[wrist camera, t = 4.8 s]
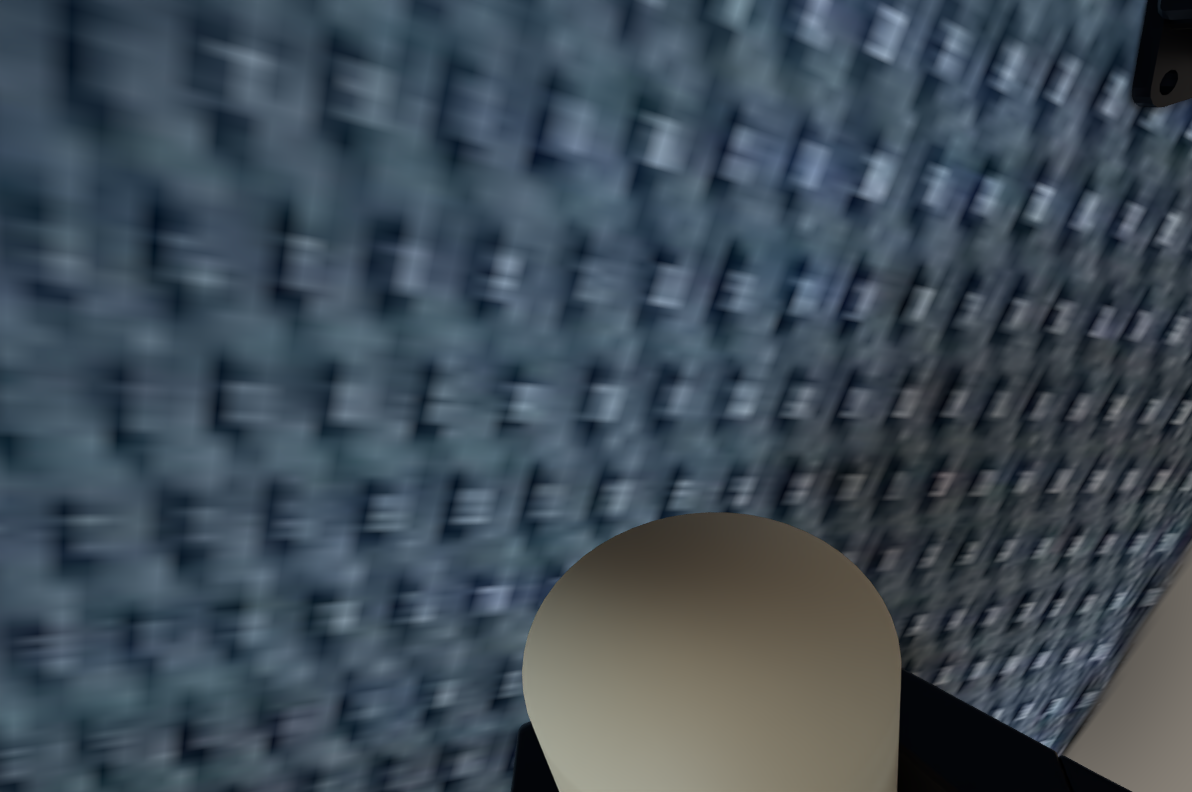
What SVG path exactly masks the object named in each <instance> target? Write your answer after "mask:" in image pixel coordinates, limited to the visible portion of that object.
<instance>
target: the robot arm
mask: <svg viewBox="0 0 1192 792" xmlns="http://www.w3.org/2000/svg"><path fill="white" fill-rule="evenodd" d="M1132 97H1133V100H1134V103H1135V104H1137V105H1138V106H1144V107H1165V106H1168V105H1171V104H1174V103H1177V102H1180V101H1183V100H1187V99H1190V98H1192V0H1148V4H1147V10H1146V15H1145V21H1144V26H1143V32H1142V38H1141V43H1140V49H1139V54H1138V60H1137V65H1136V71H1135V77H1134V82H1133V89H1132ZM511 792H559V789H558V787H557V785H556V782H555V780H554V777H553V775H552V772H551V770H550V767H549V765H548V763H547V760H546V758H545V755H544V753H543V750H542V748H541V745H540V743H539V741H538V738H537V736H536V733H535V731H534V728H533V725H532V723H531V721H530V722H528V723H526V724H523V725H522V726H521V727H520V729H519V732H518V736H517V745H516V753H515V762H514V770H513V778H512V787H511ZM897 792H1132V791H1130V790H1128V789H1126V788H1124V787H1122V786H1120V785H1118V784H1116V783H1114V782H1112V781H1110V780H1108V779H1107V778H1104V777H1103V776H1101V775H1099V774H1097V773H1095V772H1093V771H1091V770H1089V769H1088V768H1086V767H1084V766H1082V765H1080V764H1078V763H1077V762H1075V761H1073V760H1071V759H1069V758H1067V757H1066V756H1063V755H1061V756H1059V757H1058V755H1057V753H1056V752H1055V751H1054V750H1052V749H1050V748H1049V747H1047V746H1045V745H1043V744H1041V743H1039V742H1037V741H1036V740H1034V739H1032V738H1030V737H1028V736H1026V735H1025V734H1023V733H1021V732H1019V731H1017V730H1015V729H1013V728H1012V727H1010V726H1008V725H1006V724H1004V723H1002V722H1000V721H999V720H997V719H995V718H993V717H991V716H989V715H988V714H986V713H984V712H982V711H980V710H978V709H976V708H975V707H973V706H971V705H969V704H967V703H965V702H964V701H962V700H960V699H958V698H956V697H954V696H952V695H951V694H949V693H947V692H945V691H943V690H941V689H940V688H938V687H936V686H934V685H932V684H930V683H928V682H927V681H925V680H923V679H921V678H919V677H917V676H916V675H914V674H912V673H910V672H908V671H906V670H904V669H903V668H901V691H900V719H899V748H898V777H897Z"/></svg>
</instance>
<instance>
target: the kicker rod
mask: <svg viewBox="0 0 1192 792" xmlns="http://www.w3.org/2000/svg"><path fill="white" fill-rule="evenodd" d="M522 678H523V693H524V698H525V703H526V707H527V712H528V715H529V717H530V720H531V723H532V725H533V728H534V731H535V733H536V736H537V738H538V741H539V743H540V745H541V748H542V750H543V753H544V755H545V758H546V760H547V763H548V765H549V767H550V770H551V772H552V775H553V777H554V780H555V782H556V785H557V787H558V789H559V792H897V777H898V748H899V719H900V691H901V654H900V648H899V641H898V636H897V633H896V630H895V627H894V624H893V620H892V617H891V615H890V613H889V611H888V609H887V607H886V605H885V603H884V601H883V599H882V598H881V596H880V595H879V593H878V592H877V590H876V589H875V587H874V586H873V585H872V583H871V582H870V580H869V579H868V578H867V577H866V576H865V575H864V574H863V573H862V572H861V571H860V569H859V568H858V567H857V566H856V565H855V564H853V563H852V562H851V561H850V560H849V559H848V558H846V557H845V556H844V555H843V554H842V553H841V552H839V551H838V550H836V549H835V548H833V547H832V546H830V545H829V544H827V543H826V542H824V541H823V540H821V539H819V538H817V537H815V536H813V535H811V534H809V533H807V532H805V531H803V530H800V529H798V528H795V527H793V526H790V525H788V524H785V523H781V522H778V521H774V520H771V519H768V518H762V517H757V516H752V515H746V514H736V513H710V512H708V513H695V514H685V515H679V516H673V517H668V518H664V519H660V520H656V521H652V522H649V523H646V524H643V525H640V526H638V527H635V528H632V529H630V530H628V531H626V532H623V533H621V534H619V535H617V536H615V537H613V538H611V539H609V540H608V541H606V542H604V543H602V544H601V545H599V546H598V547H596V548H595V549H593V550H592V551H591V552H589V553H588V554H586V555H585V556H584V557H582V558H581V559H580V560H579V561H578V562H577V563H575V564H574V565H573V566H572V567H571V568H570V569H569V570H568V571H567V572H566V573H565V574H564V575H563V576H562V577H561V578H560V580H559V581H558V582H557V583H556V584H555V585H554V587H553V588H552V590H551V591H550V592H549V594H548V595H547V596H546V598H545V599H544V601H543V603H542V605H541V607H540V608H539V610H538V612H537V614H536V616H535V618H534V621H533V623H532V626H531V628H530V631H529V634H528V638H527V642H526V646H525V650H524V658H523V668H522Z"/></svg>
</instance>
